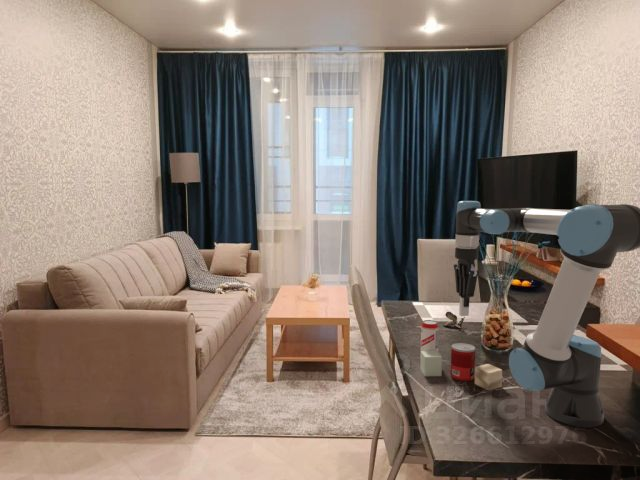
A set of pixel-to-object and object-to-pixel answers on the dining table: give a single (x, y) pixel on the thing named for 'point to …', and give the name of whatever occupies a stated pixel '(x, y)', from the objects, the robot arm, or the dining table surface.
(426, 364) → the sage block
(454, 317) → the snake figurine
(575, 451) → the dining table surface
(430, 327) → the beer can
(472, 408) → the dining table surface
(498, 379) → the birch block
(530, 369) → the robot arm
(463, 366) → the canned food
